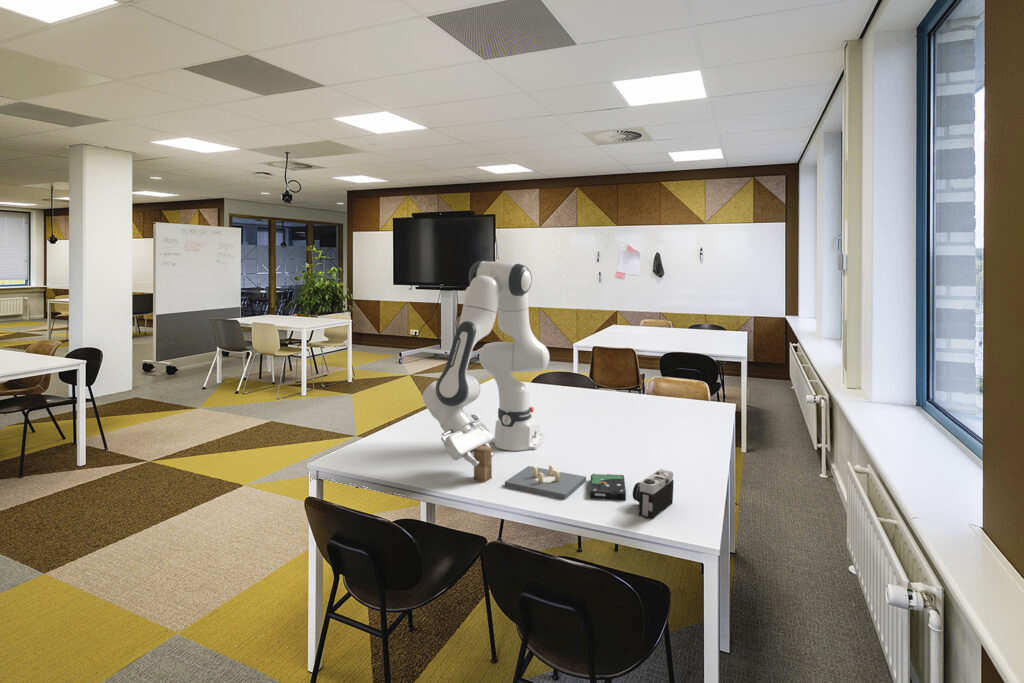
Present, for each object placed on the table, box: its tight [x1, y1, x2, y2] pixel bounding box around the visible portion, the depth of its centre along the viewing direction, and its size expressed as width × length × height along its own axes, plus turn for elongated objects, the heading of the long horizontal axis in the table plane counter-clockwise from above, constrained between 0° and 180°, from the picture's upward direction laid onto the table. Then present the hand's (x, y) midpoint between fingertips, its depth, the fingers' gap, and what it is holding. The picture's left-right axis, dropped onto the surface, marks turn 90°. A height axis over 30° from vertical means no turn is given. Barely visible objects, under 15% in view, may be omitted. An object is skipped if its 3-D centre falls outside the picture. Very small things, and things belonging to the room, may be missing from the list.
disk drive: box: [589, 473, 627, 502], centre depth 167 cm, size 10×3×15 cm
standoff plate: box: [504, 464, 587, 500], centre depth 171 cm, size 16×20×4 cm
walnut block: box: [473, 446, 493, 483], centre depth 174 cm, size 4×4×10 cm
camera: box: [632, 468, 674, 521], centre depth 153 cm, size 14×9×10 cm, turn 134°
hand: (484, 461), depth 174 cm, fingers open, 7 cm apart
